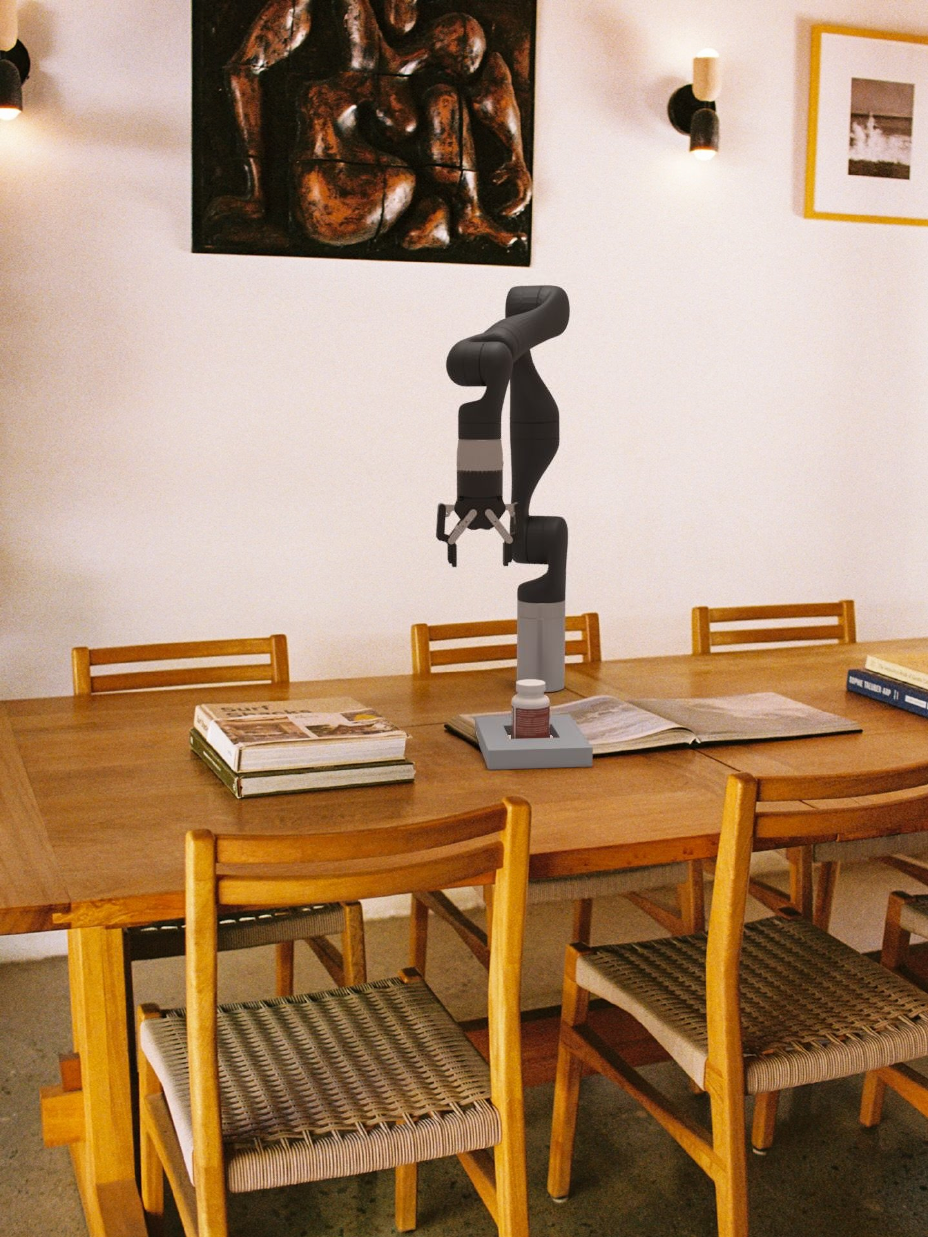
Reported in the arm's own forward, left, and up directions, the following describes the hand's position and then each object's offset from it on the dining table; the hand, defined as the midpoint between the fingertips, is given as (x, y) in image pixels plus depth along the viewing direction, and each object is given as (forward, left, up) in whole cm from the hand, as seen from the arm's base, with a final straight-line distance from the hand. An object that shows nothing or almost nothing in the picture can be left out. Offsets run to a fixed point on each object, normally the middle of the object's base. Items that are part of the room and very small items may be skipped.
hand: (479, 566), depth 207 cm
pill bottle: (+12, +7, -28) cm, 31 cm away
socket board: (+12, +7, -28) cm, 31 cm away
